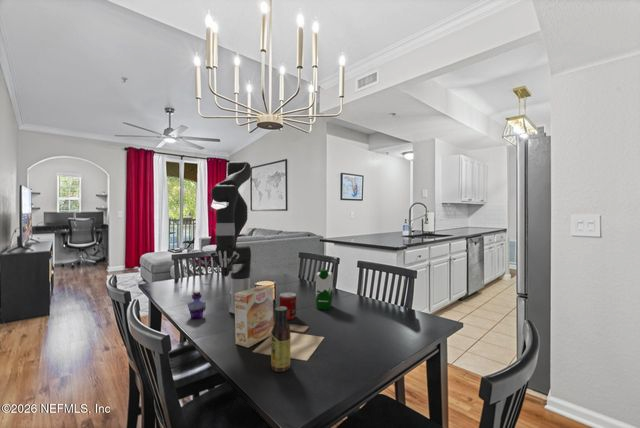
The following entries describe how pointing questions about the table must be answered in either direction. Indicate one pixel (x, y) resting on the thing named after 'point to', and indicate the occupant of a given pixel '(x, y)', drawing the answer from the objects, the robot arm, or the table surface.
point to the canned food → (289, 304)
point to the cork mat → (295, 346)
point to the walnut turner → (297, 328)
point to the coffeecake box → (253, 315)
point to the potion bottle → (196, 306)
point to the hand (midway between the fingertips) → (225, 276)
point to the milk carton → (324, 289)
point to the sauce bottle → (280, 341)
